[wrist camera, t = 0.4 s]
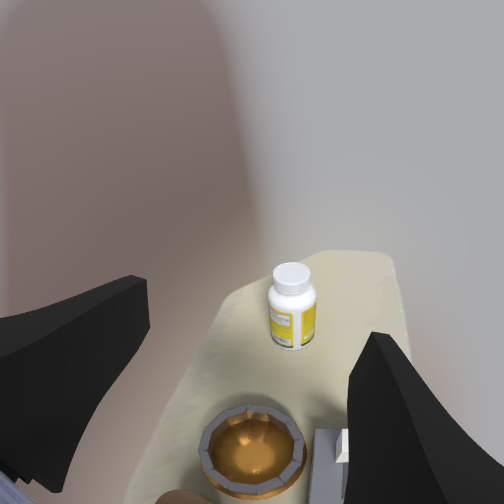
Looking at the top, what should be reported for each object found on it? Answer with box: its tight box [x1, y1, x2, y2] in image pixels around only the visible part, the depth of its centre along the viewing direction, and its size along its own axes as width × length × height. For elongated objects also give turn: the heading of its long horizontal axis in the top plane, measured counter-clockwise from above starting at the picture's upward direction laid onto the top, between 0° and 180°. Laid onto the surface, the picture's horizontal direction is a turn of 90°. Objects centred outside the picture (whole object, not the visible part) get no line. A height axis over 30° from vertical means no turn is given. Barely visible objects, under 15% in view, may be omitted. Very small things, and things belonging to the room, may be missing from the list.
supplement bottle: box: [268, 262, 316, 351], centre depth 32 cm, size 5×5×10 cm
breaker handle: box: [335, 429, 349, 463], centre depth 17 cm, size 2×2×3 cm
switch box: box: [307, 428, 349, 504], centre depth 17 cm, size 10×6×4 cm, turn 171°
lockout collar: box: [198, 404, 307, 500], centre depth 21 cm, size 10×10×2 cm
